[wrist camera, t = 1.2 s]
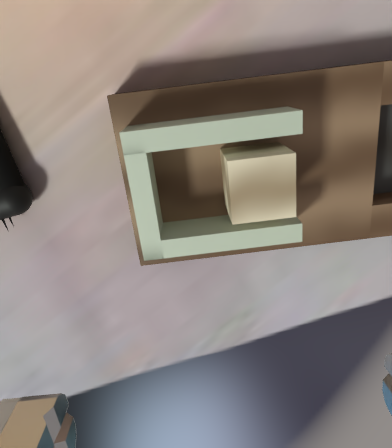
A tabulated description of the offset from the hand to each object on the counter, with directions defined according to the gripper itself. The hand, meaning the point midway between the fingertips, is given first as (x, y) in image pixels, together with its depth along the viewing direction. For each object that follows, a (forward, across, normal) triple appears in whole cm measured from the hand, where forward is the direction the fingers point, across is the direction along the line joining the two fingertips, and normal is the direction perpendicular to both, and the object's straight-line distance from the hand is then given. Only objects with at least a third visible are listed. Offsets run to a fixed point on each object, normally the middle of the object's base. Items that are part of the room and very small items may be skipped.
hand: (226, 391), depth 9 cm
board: (+24, -12, 0) cm, 27 cm away
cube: (+20, -4, 0) cm, 21 cm away
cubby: (+20, -1, 0) cm, 21 cm away
